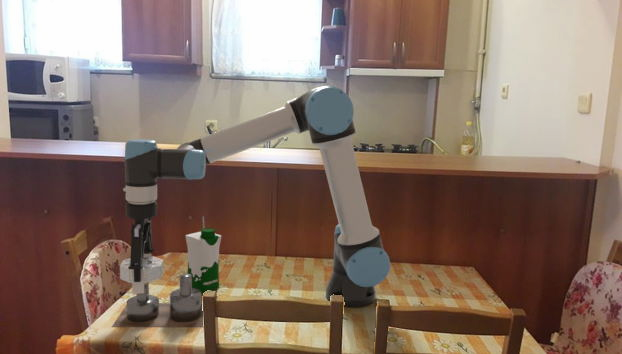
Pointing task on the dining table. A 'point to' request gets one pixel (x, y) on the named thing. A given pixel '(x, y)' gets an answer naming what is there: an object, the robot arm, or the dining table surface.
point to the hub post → (143, 306)
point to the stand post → (185, 301)
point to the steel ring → (151, 269)
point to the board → (157, 319)
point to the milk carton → (204, 259)
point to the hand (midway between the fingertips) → (142, 284)
